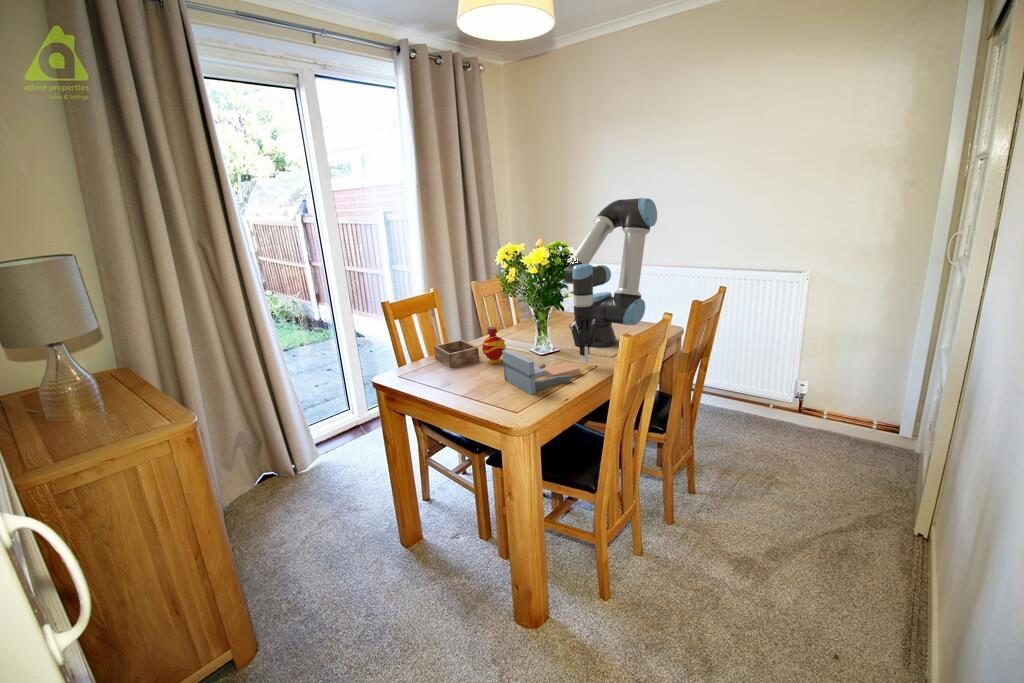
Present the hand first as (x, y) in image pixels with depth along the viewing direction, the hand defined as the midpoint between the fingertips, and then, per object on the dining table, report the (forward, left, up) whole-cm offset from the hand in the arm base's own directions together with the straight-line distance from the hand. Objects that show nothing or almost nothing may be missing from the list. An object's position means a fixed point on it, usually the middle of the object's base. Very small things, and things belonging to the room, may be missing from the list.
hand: (584, 362), depth 191 cm
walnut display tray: (+36, -46, -2) cm, 58 cm away
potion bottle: (+24, -32, -2) cm, 40 cm away
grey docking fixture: (+23, 0, -2) cm, 23 cm away
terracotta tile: (+12, 0, -3) cm, 12 cm away
